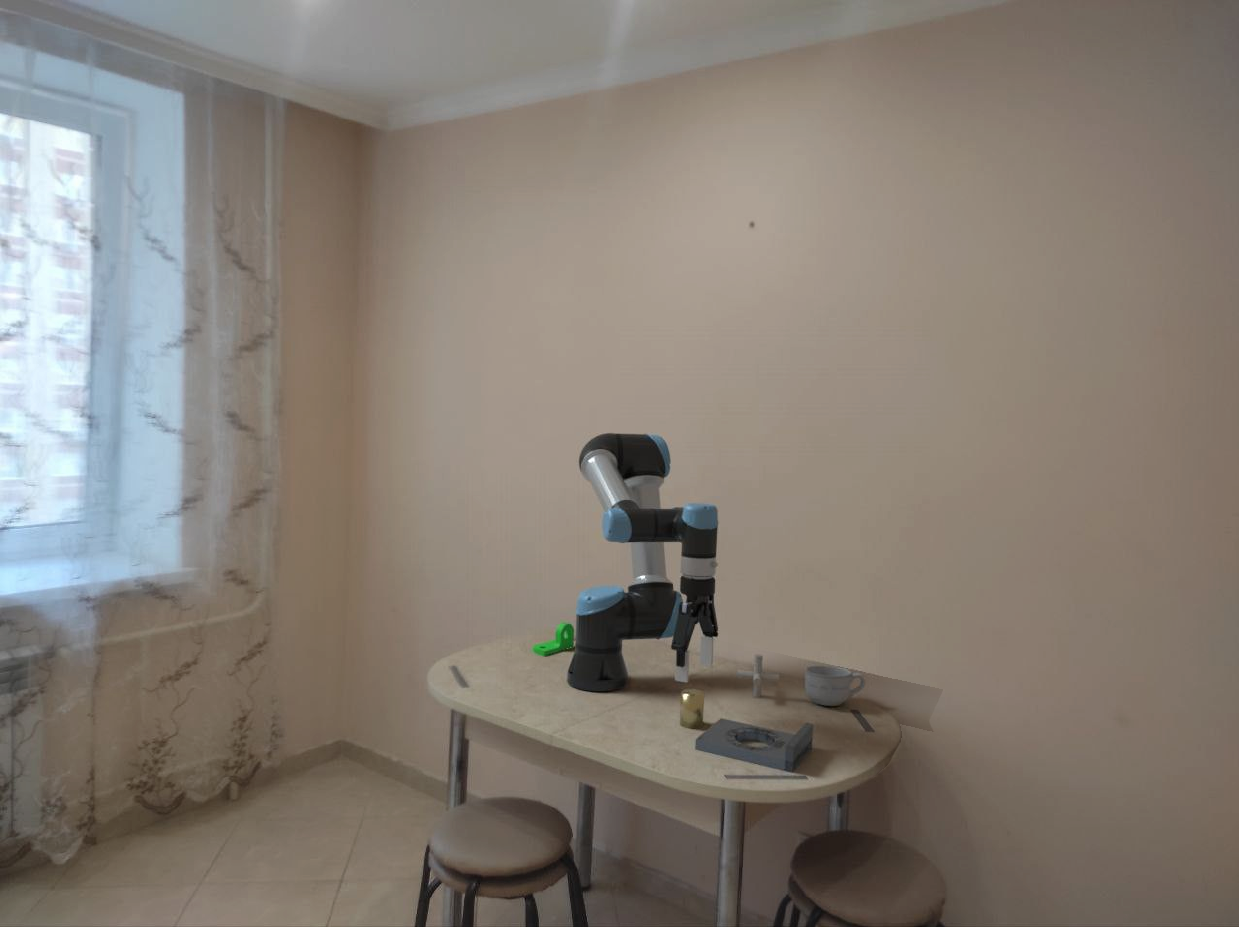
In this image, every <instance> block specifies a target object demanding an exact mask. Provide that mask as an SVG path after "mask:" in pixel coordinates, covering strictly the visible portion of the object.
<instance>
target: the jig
mask: <svg viewBox="0 0 1239 927" xmlns="http://www.w3.org/2000/svg"><path fill="white" fill-rule="evenodd" d="M813 735H814V723H810V722H805V723H804V724H803V725H802V726H801V728H800V729H799V730H798V731H797V732H796V733H795V734H794V733H790V732H786V731H780V730H777V729H772V728H768V727H767V728H766V727H763V726H758V725H753V724H749V723H744V722H742V721H741V722H739V721H735V720H731V719H725V718H722V717H721V718H719V719H718V720H717V721H716V722H715V723H713V724H712V725H711V726H710V727H709V728H707V729H706V730H705V731H704V732H703V733H702V734H700V735H698V737H696V738H695V744H694V745H695V746H694V747H695V748H694V749H695V750H698V751H701V752H706V753H710V754H715V755H720V756H724V757H726V758H731V759H735V760H739V761H743V762H748V763H752V764H757V765H761V766H764V767H769V768H773V769H777V770H781V771H784V772H789V773H793V772H794V771H795V770H796V769H797V767H798V766H799V765H800V764H801V762H803V760H804V759H805V757H806V756H807V755H808V754H809V752H810V751H811V750H812V749H813V738H814V736H813ZM745 741H747V742H748V741H749V742H750V741H751V742H759V743H764V744H767V745H766V746H752V745H749V744H744V743H742V742H745Z"/></svg>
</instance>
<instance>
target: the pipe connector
mask: <svg viewBox="0 0 1239 927" xmlns="http://www.w3.org/2000/svg"><path fill="white" fill-rule="evenodd" d="M763 658H764V657H763V654H754V664H753V665H754V667H753V668H754V669H753V671H752V670H742V669H737V670H736V678H739V679H749V680H752V684H753V687H752V690H753V691H752V697H754V698H756V699H757V698H758V699H759V698H761V696H762V681H769V682H779V680H780V674H779V673H773V672H771V673H770V672H763Z"/></svg>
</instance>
